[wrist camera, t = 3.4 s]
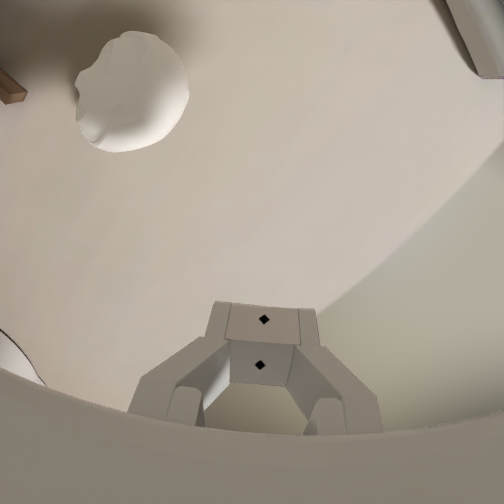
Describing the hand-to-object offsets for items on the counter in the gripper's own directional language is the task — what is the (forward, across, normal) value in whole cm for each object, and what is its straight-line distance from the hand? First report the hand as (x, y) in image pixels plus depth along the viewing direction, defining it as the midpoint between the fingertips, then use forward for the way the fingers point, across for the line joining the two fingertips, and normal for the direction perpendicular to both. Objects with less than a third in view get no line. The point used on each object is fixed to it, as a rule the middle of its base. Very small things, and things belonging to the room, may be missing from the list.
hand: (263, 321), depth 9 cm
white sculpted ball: (+15, +9, -7) cm, 19 cm away
